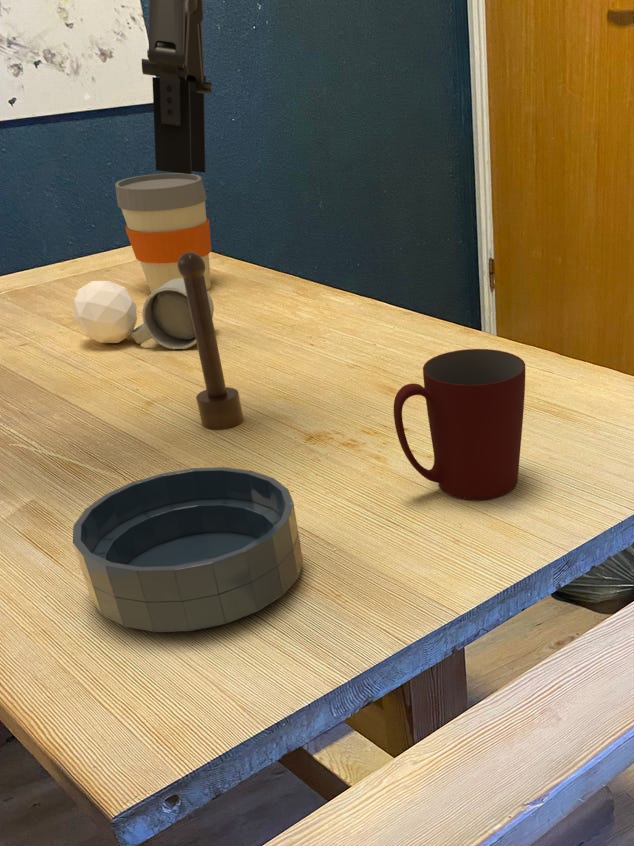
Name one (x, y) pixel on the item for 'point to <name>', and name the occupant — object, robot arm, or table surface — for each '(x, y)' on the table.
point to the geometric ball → (105, 311)
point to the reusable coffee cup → (165, 223)
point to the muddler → (208, 351)
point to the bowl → (189, 548)
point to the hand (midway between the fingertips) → (182, 172)
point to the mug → (470, 421)
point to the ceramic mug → (168, 317)
